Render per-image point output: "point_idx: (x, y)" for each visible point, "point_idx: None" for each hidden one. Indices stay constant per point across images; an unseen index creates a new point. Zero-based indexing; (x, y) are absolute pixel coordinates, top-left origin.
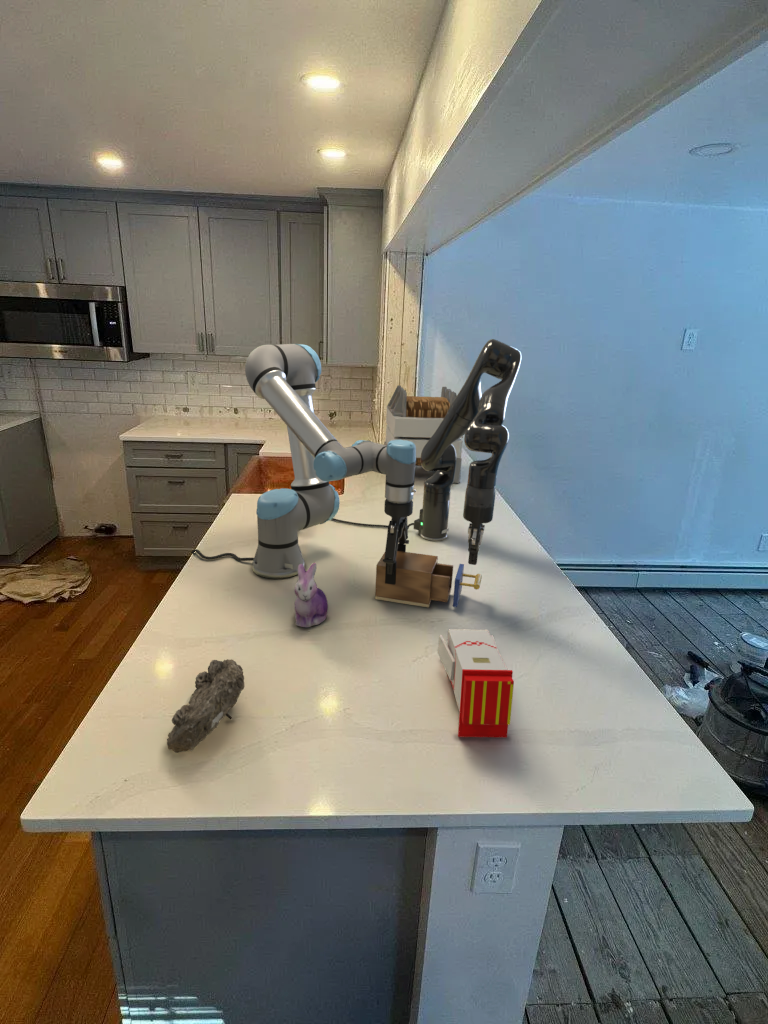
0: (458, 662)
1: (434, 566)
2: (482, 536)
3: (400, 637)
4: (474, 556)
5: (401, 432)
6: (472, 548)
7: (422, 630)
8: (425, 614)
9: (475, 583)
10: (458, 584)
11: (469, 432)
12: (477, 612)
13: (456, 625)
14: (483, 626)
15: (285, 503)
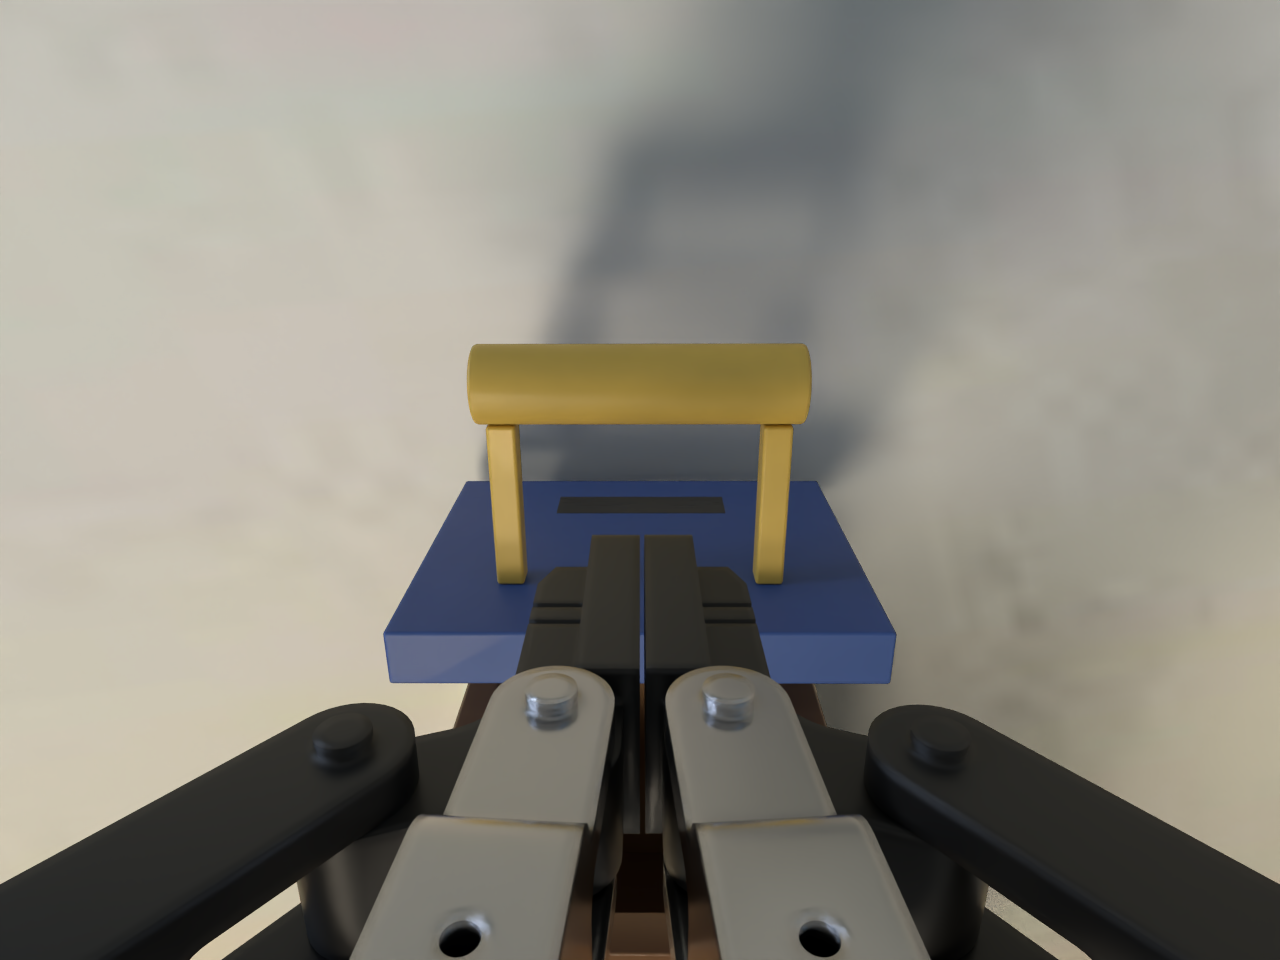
0: None
1: (655, 935)
2: (369, 932)
3: (1275, 773)
4: (761, 670)
5: None
6: (981, 916)
7: (1167, 663)
8: (922, 680)
9: (782, 412)
10: (878, 605)
11: None
12: (784, 282)
13: (1057, 437)
14: (1039, 200)
15: None
